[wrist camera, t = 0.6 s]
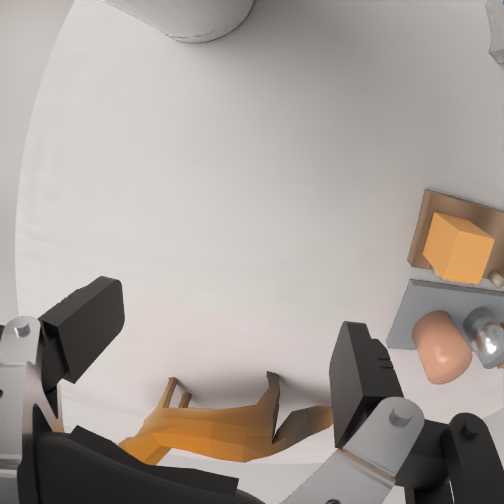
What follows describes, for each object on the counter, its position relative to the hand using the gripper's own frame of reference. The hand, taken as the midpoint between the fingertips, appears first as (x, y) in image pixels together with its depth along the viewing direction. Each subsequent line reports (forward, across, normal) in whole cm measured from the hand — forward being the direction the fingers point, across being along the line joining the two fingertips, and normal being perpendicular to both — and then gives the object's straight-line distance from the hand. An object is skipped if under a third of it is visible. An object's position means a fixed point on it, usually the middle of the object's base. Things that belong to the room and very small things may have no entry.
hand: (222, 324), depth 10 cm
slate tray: (+18, -25, +8) cm, 32 cm away
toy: (+20, +2, +25) cm, 32 cm away
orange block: (+16, -16, -2) cm, 23 cm away
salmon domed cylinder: (+17, -19, +9) cm, 27 cm away
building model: (+15, -22, -24) cm, 36 cm away
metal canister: (+17, -25, +7) cm, 31 cm away
